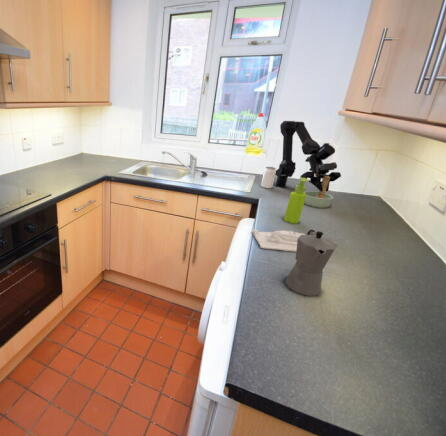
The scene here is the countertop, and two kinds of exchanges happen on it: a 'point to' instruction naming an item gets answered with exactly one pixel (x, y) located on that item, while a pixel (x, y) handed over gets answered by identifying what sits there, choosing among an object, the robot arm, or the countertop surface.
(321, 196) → the pestle
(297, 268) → the coffeepot
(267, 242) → the beige cloth
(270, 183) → the can
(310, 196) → the bowl
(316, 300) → the countertop surface
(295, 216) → the soap dispenser
